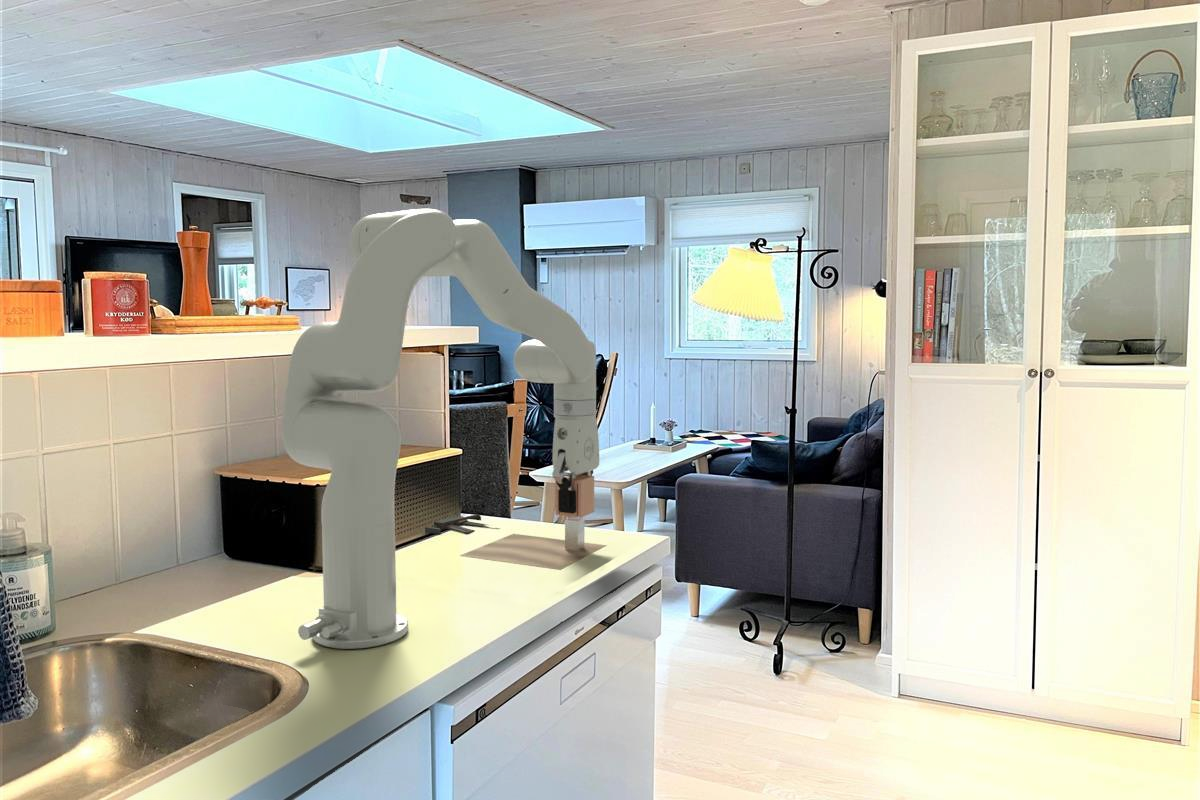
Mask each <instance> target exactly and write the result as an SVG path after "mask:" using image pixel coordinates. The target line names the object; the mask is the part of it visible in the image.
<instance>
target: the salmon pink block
mask: <svg viewBox="0 0 1200 800" xmlns="http://www.w3.org/2000/svg"><path fill="white" fill-rule="evenodd" d="M564 477H566V478H567V479H568V481H569V479H570V477H567V476H564ZM554 481H555V482H554V488H555V489H554V491H555V492H554V494H555V498H554V500H555V501H554V503H555V504H554V505H555V506H554V508H555V509H554V510H555V511H554V512H555V513H554V515H555V516H564V517H577V518H584V517H586V516H588V515H590V514H593V513H594V512H595V475H592V476H588V475H576V477H575V484H574V491H576V512H575V513H565V512H560V511H559V490H558V489H557V483H556V480H555V479H554Z"/></svg>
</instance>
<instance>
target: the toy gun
mask: <svg viewBox="0 0 1200 800" xmlns="http://www.w3.org/2000/svg"><path fill="white" fill-rule="evenodd" d="M457 516H458V517H455V518H450V519H445V520H440V521H435V522H434V525H432V526H431V527H430V526H428V527H425V533H424V534H425V535H428V534H434V535H435V534H437V535H439V534H441V531H444V530H449V531H453V532H456V533H461V534H464V535H469V534H472V533H474V532H475V529H471V528H467V527H473V528H474V527H475V528H485V529H494V530H500V529H501V527H500V528H498V527H495V528H494V527H489V526H488V524H486V523H480V522H473V520H474V521H482V516H481V515H480V514H478V513H477V514H473V515H468V516H461V515H457ZM469 520H472V521H469ZM463 526H464V527H463ZM466 526H467V527H466Z"/></svg>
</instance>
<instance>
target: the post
mask: <svg viewBox="0 0 1200 800" xmlns="http://www.w3.org/2000/svg"><path fill="white" fill-rule="evenodd" d="M564 540H565V550H570V551H580V550H582V549H584V543H585V518H584V517H582V518H580V517H571V516H569V517H568V518H565V519H564Z"/></svg>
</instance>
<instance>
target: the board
mask: <svg viewBox="0 0 1200 800" xmlns="http://www.w3.org/2000/svg"><path fill="white" fill-rule="evenodd" d="M607 546H608V545H607V544H601V543H599V544H598V543H592V542H584V549H582V550H580V551H570V550H565V539H560V538H551V537H545V536H544V537H542V536H536V535H535V536H534V535H527V534H519V533H511V534H509V535H507V536H505V537H502V538H500V539H497V540H494V541H492V542H490V543H488V544H484V545H481V546H480V547H477V548H475V549H473V550H470V551H467V552H465V553H462V554H460V555H459V556H460V557H464V558H465V557H466V558H472V559H481V560H487V561H493V562H501V563H508V564H516V565H522V566H523V565H524V566H529V567H530V566H531V567H538V568H543V569H544V568H545V569H552V570H558V571H561V570H563V569H564V568H567V567H568V566H571V565H572V564H574V563H576V562H578V561H579V560H582V559H584V558H586V557H587V556H589V555H592V554H594V553H595V552H597V551H599V550H601V549H603V548H605V547H607Z"/></svg>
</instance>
